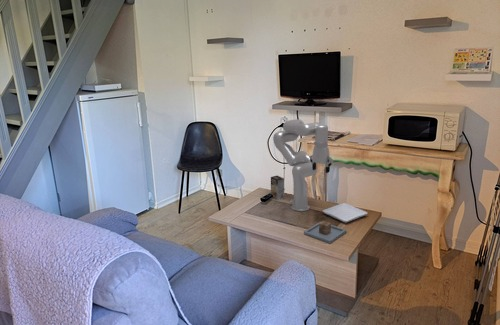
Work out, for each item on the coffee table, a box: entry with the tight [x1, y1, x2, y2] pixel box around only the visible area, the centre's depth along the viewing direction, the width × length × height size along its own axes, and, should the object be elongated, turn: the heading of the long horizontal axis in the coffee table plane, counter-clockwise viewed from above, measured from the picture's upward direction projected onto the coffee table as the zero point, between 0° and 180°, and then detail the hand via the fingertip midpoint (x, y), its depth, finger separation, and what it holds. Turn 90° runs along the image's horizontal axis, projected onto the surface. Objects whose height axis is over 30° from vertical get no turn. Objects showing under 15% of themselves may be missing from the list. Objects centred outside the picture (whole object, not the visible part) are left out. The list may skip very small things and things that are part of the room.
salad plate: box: [322, 202, 368, 223], centre depth 238 cm, size 21×21×3 cm
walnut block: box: [318, 220, 332, 235], centre depth 214 cm, size 5×5×6 cm
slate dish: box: [303, 221, 347, 245], centre depth 214 cm, size 18×18×2 cm
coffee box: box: [270, 175, 285, 201], centre depth 271 cm, size 9×6×16 cm
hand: (320, 171), depth 226 cm, fingers open, 9 cm apart
